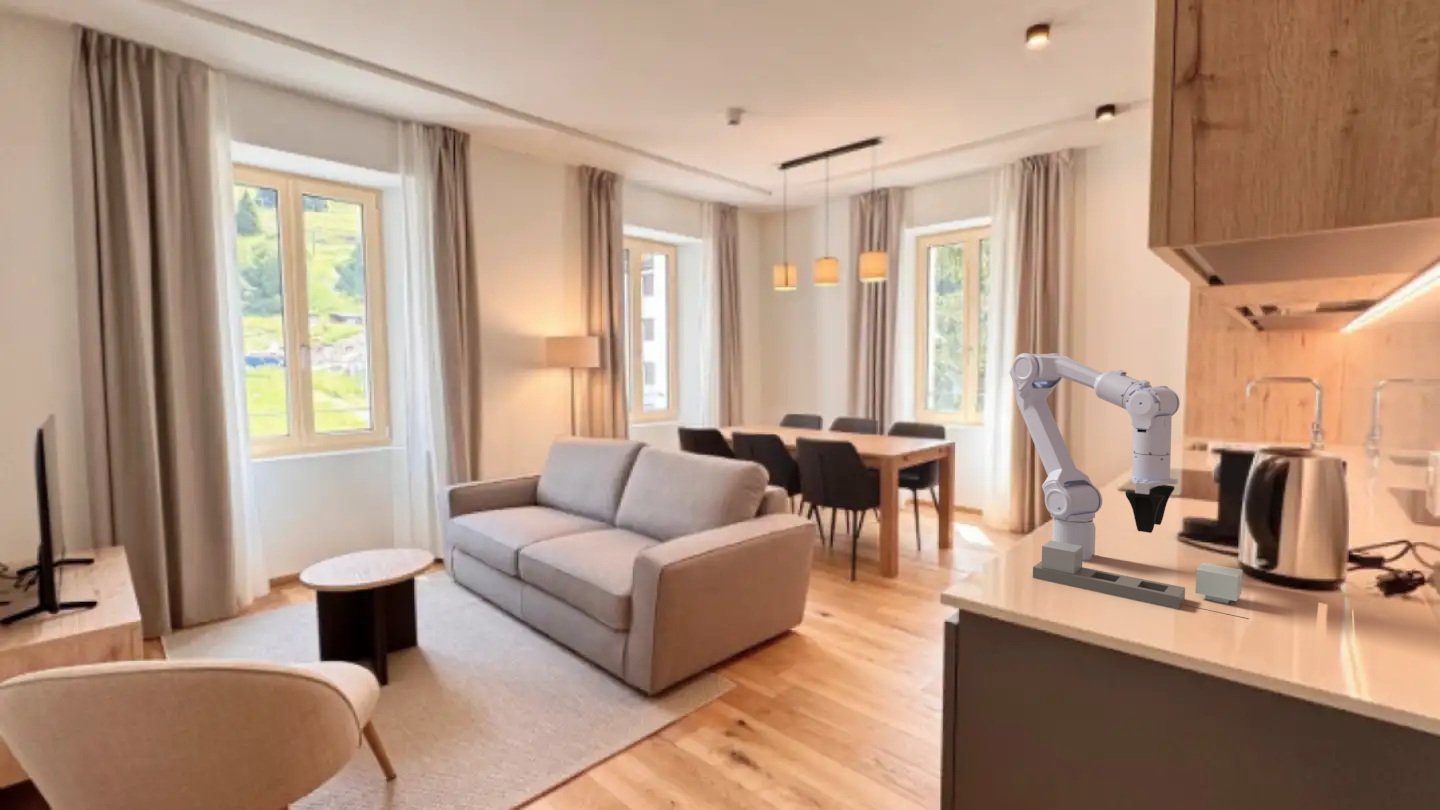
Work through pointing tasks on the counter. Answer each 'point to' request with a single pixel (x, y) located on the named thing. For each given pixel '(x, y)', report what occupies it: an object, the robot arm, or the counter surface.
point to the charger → (1218, 582)
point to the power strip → (1103, 578)
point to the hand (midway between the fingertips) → (1149, 527)
